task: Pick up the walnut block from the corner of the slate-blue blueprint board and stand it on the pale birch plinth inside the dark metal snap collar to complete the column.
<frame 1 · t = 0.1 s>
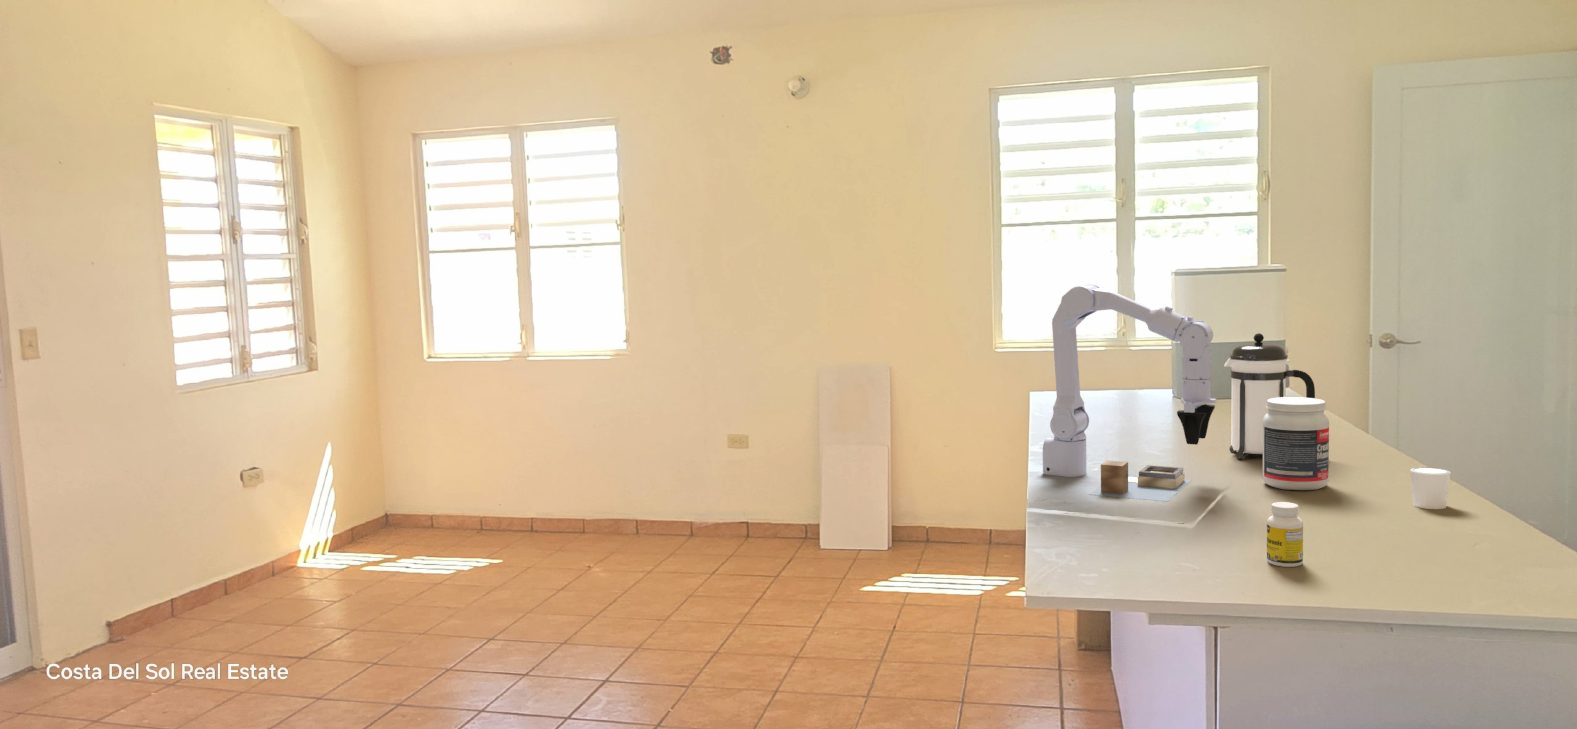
hand: (1196, 441, 231), 10 cm above the counter, tool pointing down, fingers open, 7 cm apart
supplement bottle: (1284, 564, 176), on the counter
supplement tub: (1295, 486, 230), on the counter
coffee press: (1263, 456, 262), on the counter
blueprint board: (1141, 490, 231), on the counter
white cup: (1429, 506, 209), on the counter
walnut block: (1114, 491, 228), point 1 cm above the counter, touching blueprint board
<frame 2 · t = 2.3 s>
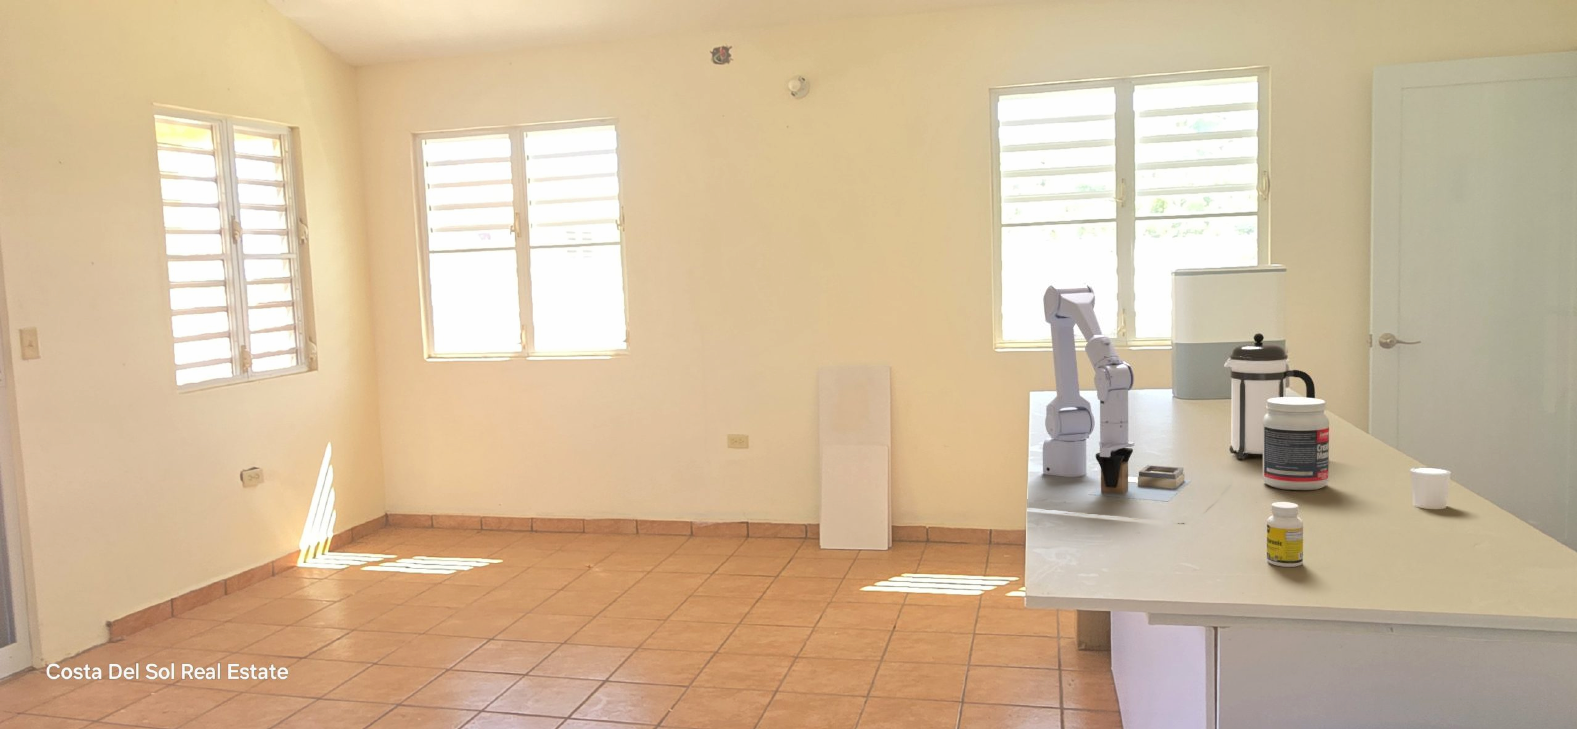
hand: (1114, 484, 228), 2 cm above the counter, tool pointing down, fingers closed on walnut block, 4 cm apart
walnut block: (1114, 491, 228), point 1 cm above the counter, touching blueprint board, gripper
everything else where it was.
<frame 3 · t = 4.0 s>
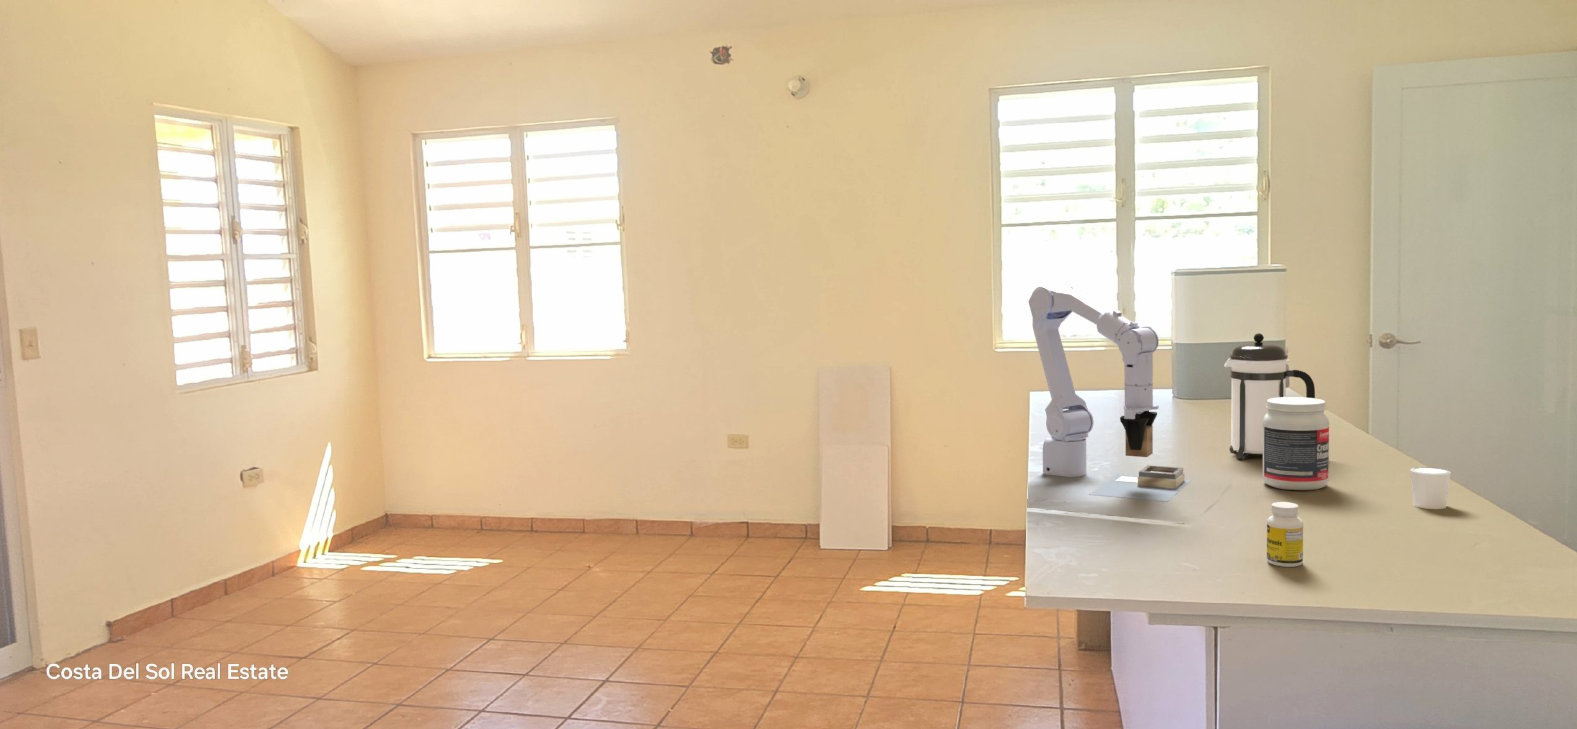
hand: (1138, 447, 230), 9 cm above the counter, tool pointing down, fingers closed on walnut block, 4 cm apart
walnut block: (1139, 454, 230), point 8 cm above the counter, touching gripper
everything else where it was.
when the fingers open (5 cm above the counter, at t = 5.7 s): walnut block stays where it is, resting on blueprint board.
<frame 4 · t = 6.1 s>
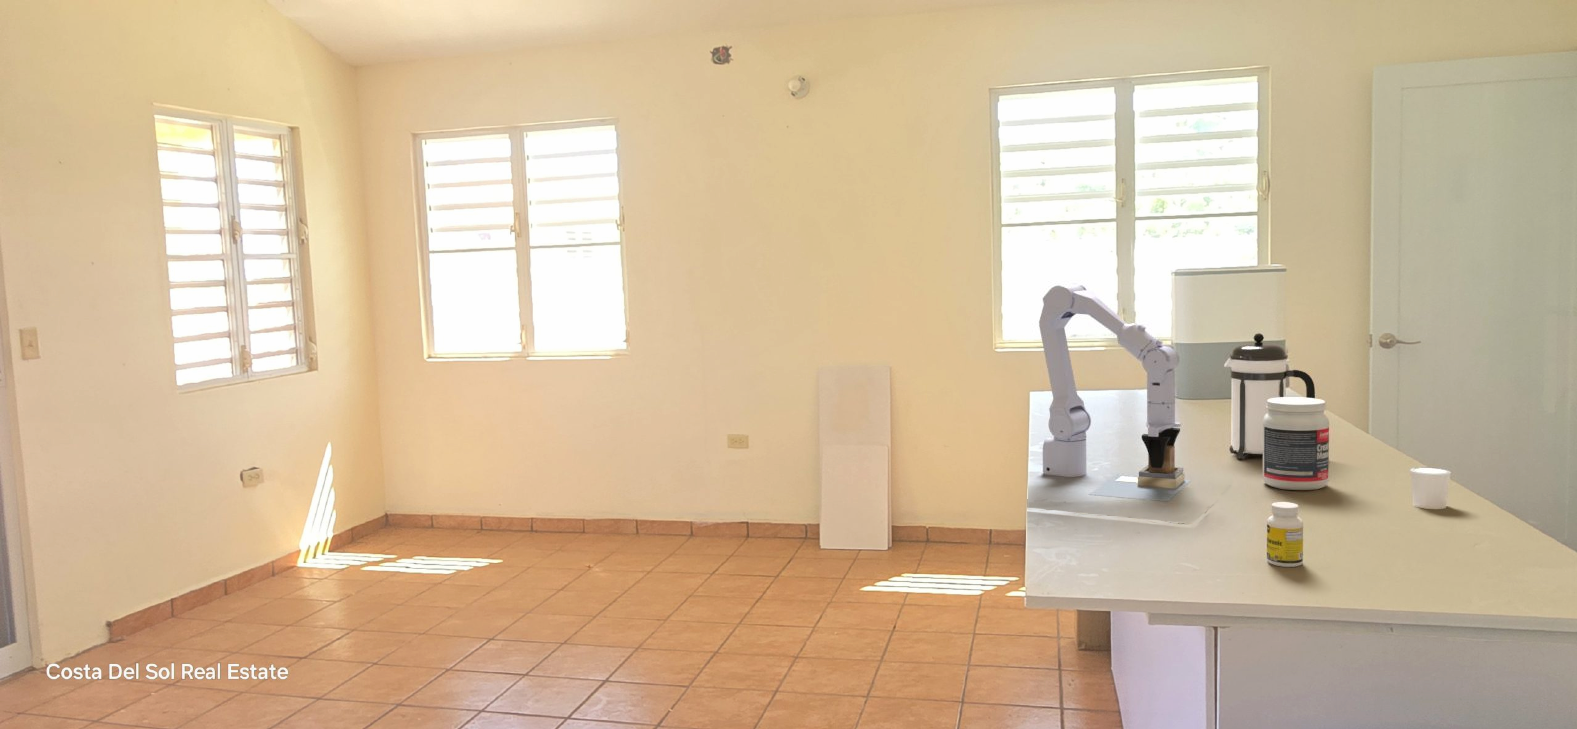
hand: (1161, 464, 233), 5 cm above the counter, tool pointing down, fingers open, 7 cm apart
walnut block: (1161, 474, 233), point 3 cm above the counter, touching blueprint board
everything else where it was.
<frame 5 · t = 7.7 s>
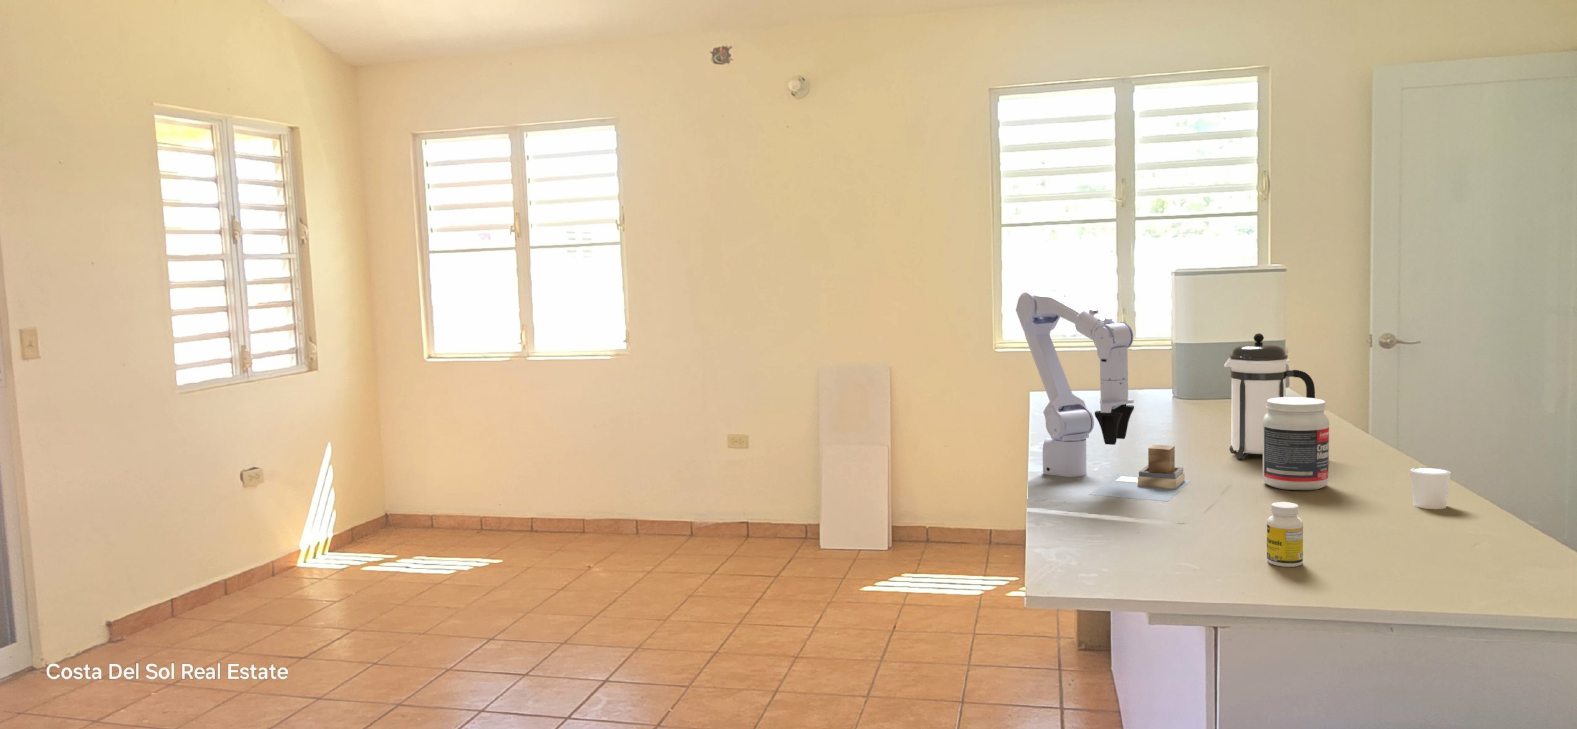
hand: (1115, 441, 232), 10 cm above the counter, tool pointing down, fingers open, 7 cm apart
nothing on the counter moved.
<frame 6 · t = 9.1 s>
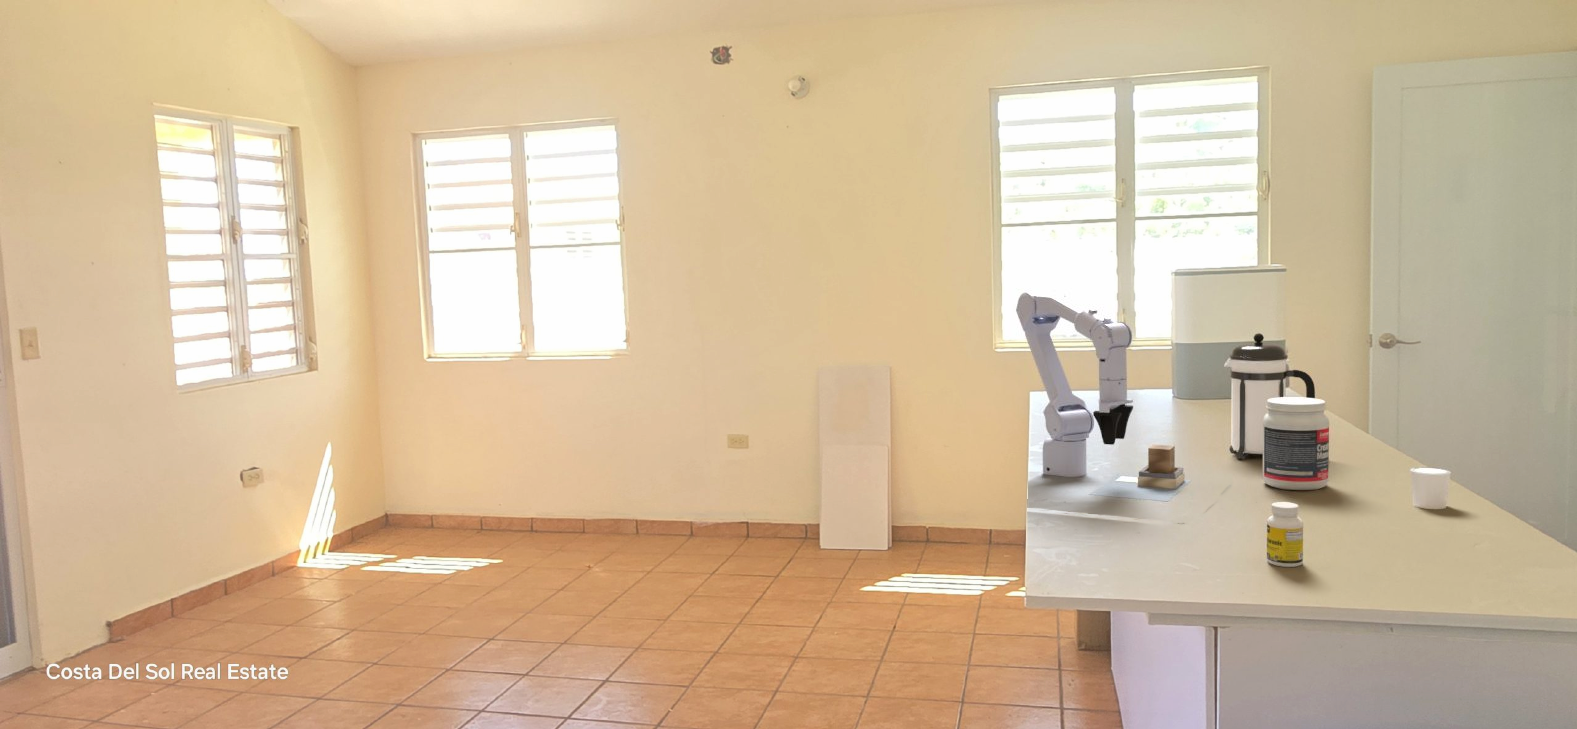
hand: (1114, 441, 232), 10 cm above the counter, tool pointing down, fingers open, 7 cm apart
nothing on the counter moved.
at the end: walnut block 0.1 cm from the target spot on the blueprint board, point 2.8 cm above the blueprint board's base; walnut block tilted 0°; the gripper is holding nothing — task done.
